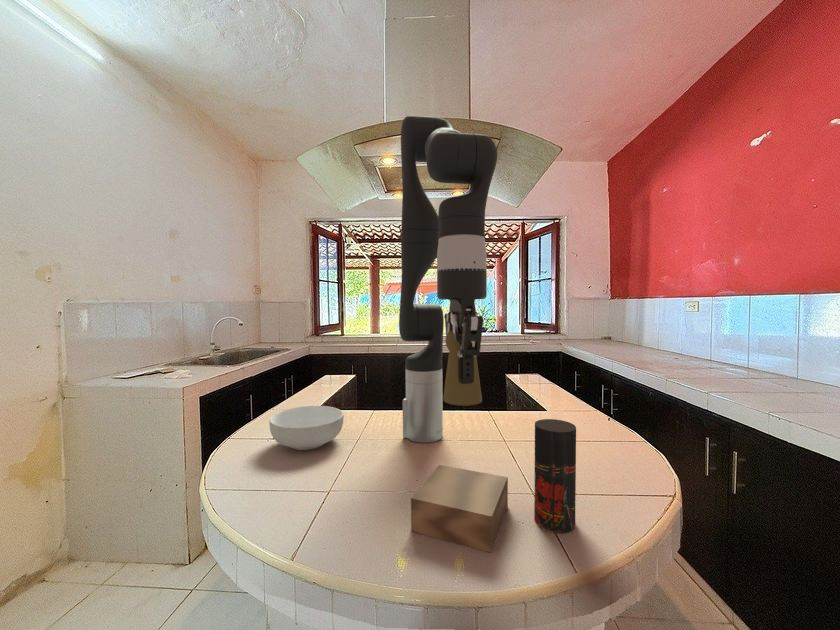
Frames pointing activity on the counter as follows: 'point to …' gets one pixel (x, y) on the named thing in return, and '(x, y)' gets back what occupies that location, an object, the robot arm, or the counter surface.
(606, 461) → the counter surface
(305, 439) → the cereal bowl
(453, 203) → the robot arm
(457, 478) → the walnut block
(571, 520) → the deodorant
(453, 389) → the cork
